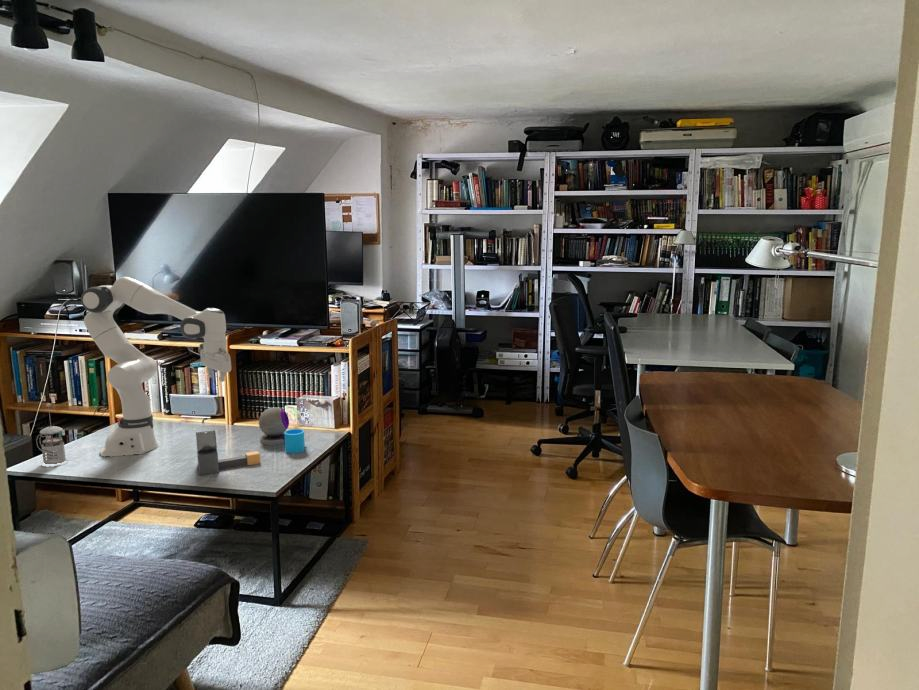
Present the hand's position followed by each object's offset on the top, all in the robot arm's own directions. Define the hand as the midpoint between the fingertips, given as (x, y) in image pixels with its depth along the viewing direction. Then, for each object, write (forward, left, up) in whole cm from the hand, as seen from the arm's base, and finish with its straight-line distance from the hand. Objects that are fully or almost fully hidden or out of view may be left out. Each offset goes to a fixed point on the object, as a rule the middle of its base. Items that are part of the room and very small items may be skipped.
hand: (216, 379), depth 290 cm
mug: (+30, -13, -31) cm, 45 cm away
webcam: (+23, +3, -31) cm, 38 cm away
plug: (+5, -24, -31) cm, 39 cm away
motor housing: (-7, -23, -31) cm, 39 cm away
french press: (-64, +9, -31) cm, 72 cm away
